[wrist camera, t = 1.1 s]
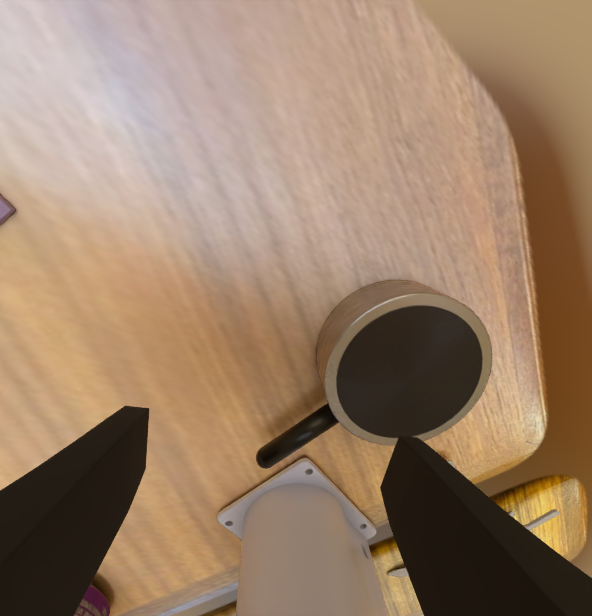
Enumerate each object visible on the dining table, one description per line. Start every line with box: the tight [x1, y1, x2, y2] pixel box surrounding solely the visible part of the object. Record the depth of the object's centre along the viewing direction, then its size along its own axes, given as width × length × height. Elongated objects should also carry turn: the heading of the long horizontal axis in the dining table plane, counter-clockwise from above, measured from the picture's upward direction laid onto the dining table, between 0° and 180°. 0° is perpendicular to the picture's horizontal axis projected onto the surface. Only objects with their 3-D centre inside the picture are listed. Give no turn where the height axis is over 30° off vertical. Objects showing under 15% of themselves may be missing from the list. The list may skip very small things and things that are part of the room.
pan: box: [256, 280, 492, 469], centre depth 17 cm, size 9×15×3 cm, turn 126°
